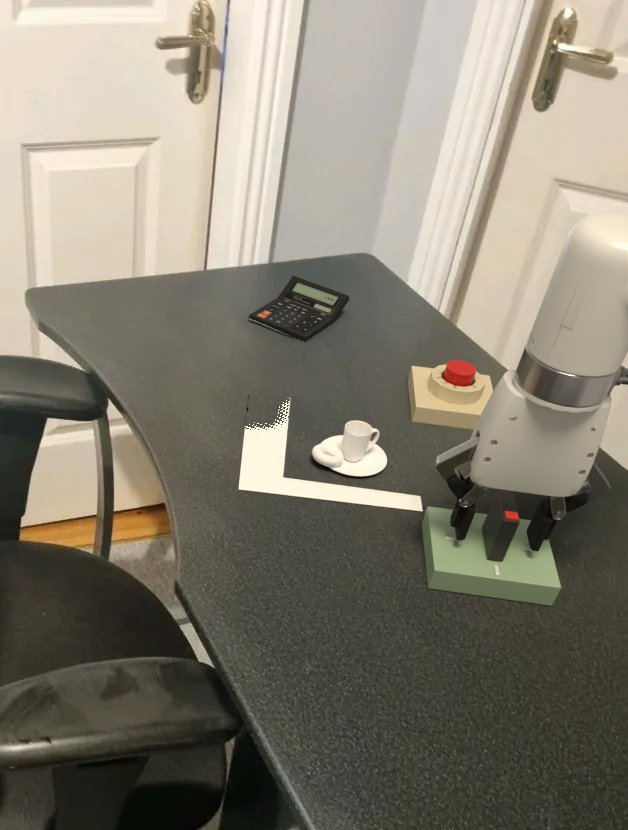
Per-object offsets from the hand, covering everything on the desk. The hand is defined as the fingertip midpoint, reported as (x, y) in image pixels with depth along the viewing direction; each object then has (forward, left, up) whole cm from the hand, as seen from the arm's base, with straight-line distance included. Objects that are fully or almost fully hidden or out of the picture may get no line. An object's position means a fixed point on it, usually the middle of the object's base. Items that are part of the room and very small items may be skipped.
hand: (495, 535), depth 84 cm
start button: (+1, -30, 0) cm, 30 cm away
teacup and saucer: (+16, -17, -4) cm, 24 cm away
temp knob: (0, 0, -1) cm, 1 cm away
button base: (+1, -30, -4) cm, 30 cm away
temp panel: (0, 0, -4) cm, 4 cm away
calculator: (+21, -49, -4) cm, 53 cm away
